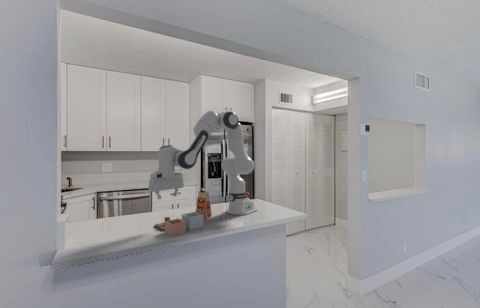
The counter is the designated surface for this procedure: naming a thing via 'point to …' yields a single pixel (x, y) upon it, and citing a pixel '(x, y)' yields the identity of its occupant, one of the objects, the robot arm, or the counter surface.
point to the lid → (162, 224)
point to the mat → (159, 229)
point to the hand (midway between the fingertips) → (167, 197)
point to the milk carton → (204, 204)
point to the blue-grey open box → (193, 220)
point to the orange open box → (175, 227)
